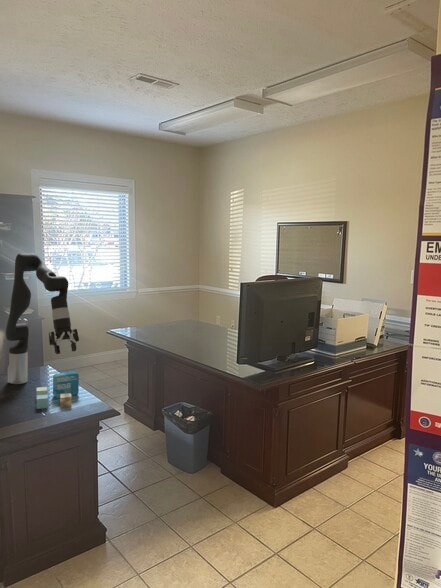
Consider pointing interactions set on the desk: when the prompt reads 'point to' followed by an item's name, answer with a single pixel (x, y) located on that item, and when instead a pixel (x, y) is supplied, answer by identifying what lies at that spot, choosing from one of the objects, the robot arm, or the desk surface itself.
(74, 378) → the data package
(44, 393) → the sage block
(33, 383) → the desk surface
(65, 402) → the maple block
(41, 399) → the teal block
